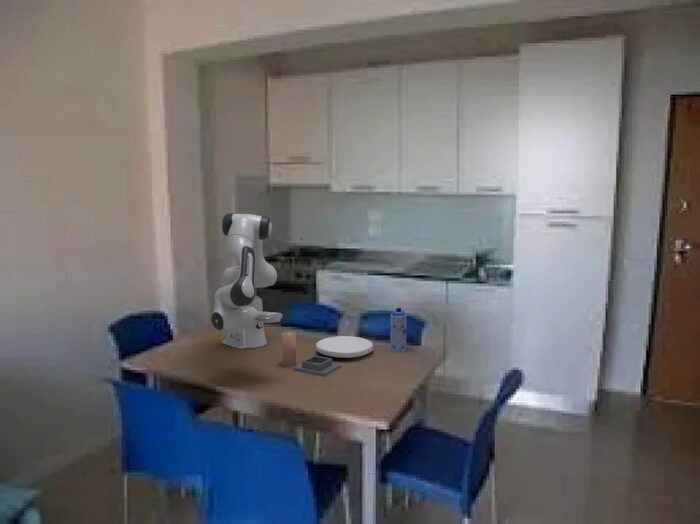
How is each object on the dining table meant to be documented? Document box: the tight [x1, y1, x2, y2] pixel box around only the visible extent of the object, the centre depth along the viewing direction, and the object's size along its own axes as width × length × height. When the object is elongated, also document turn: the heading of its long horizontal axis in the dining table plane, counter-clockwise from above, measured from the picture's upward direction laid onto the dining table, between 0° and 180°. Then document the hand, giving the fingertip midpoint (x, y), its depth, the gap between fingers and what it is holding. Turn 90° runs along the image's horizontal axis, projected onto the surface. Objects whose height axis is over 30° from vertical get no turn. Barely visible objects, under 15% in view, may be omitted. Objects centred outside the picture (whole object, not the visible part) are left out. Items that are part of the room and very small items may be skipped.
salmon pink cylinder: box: [281, 330, 297, 367], centre depth 260 cm, size 6×6×14 cm
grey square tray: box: [292, 354, 342, 377], centre depth 255 cm, size 16×13×4 cm
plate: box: [315, 335, 374, 359], centre depth 277 cm, size 28×6×27 cm
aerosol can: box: [389, 307, 407, 353], centre depth 279 cm, size 8×8×20 cm
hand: (273, 314), depth 251 cm, fingers open, 8 cm apart
